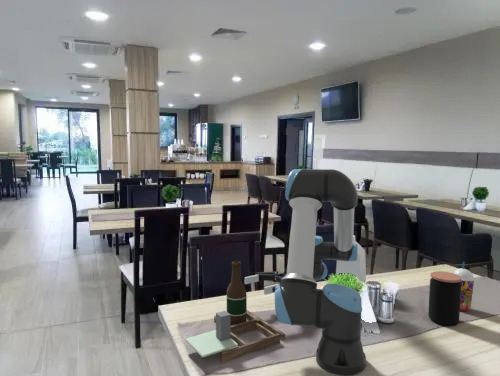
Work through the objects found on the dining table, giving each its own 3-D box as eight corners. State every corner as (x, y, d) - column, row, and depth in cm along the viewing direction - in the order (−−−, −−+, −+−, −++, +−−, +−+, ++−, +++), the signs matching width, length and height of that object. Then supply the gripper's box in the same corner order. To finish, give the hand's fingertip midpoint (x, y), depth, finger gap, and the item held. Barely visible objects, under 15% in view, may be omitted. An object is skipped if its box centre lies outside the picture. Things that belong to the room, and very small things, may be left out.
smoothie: (468, 315, 153) (471, 266, 151) (446, 308, 159) (448, 261, 157) (475, 309, 158) (478, 262, 156) (454, 303, 164) (456, 258, 163)
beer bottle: (244, 328, 140) (244, 265, 138) (223, 326, 142) (223, 264, 140) (248, 319, 148) (248, 259, 146) (229, 317, 149) (229, 258, 147)
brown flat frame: (286, 340, 132) (286, 332, 132) (222, 362, 118) (222, 353, 117) (243, 312, 154) (243, 305, 154) (185, 328, 140) (185, 320, 140)
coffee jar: (462, 320, 148) (465, 275, 146) (454, 329, 140) (457, 282, 138) (433, 312, 155) (435, 269, 153) (424, 321, 147) (426, 275, 146)
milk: (359, 297, 171) (361, 240, 169) (334, 292, 177) (336, 237, 175) (365, 288, 182) (367, 235, 179) (342, 284, 187) (343, 232, 185)
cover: (237, 345, 122) (237, 319, 121) (202, 357, 115) (202, 329, 114) (218, 330, 132) (218, 306, 131) (185, 340, 125) (184, 314, 124)
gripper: (316, 293, 150) (273, 305, 139) (277, 276, 171) (237, 285, 159) (316, 275, 150) (273, 285, 138) (277, 260, 170) (237, 268, 159)
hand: (254, 285), depth 149 cm, fingers open, 13 cm apart
